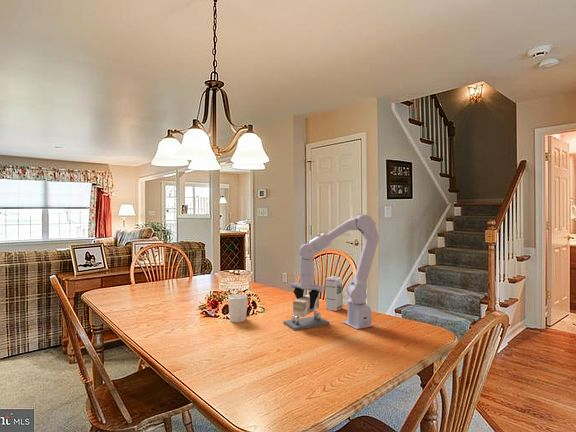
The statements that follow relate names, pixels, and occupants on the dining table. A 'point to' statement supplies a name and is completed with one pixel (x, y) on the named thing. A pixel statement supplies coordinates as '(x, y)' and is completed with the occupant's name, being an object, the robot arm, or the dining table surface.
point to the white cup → (237, 307)
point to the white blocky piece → (304, 306)
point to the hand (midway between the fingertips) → (306, 307)
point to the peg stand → (306, 322)
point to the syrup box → (334, 293)
